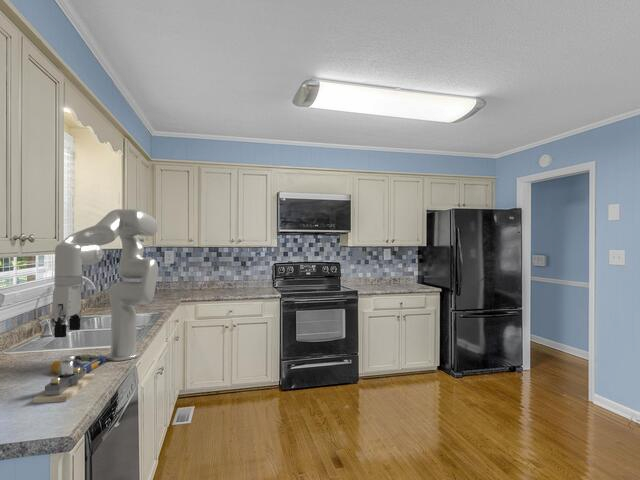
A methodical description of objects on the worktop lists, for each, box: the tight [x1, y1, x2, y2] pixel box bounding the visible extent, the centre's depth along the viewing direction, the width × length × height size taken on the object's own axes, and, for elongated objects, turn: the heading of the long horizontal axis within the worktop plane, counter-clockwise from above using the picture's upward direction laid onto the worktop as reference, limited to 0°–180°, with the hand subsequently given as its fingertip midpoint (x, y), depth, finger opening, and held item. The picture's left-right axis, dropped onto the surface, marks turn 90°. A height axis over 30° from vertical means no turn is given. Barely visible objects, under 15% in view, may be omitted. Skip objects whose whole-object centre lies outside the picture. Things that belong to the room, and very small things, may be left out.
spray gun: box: [49, 354, 107, 375], centre depth 142 cm, size 21×4×15 cm
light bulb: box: [59, 354, 76, 378], centre depth 123 cm, size 4×4×9 cm
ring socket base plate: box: [33, 367, 95, 404], centre depth 122 cm, size 20×9×6 cm, turn 11°
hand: (67, 333), depth 122 cm, fingers open, 9 cm apart
